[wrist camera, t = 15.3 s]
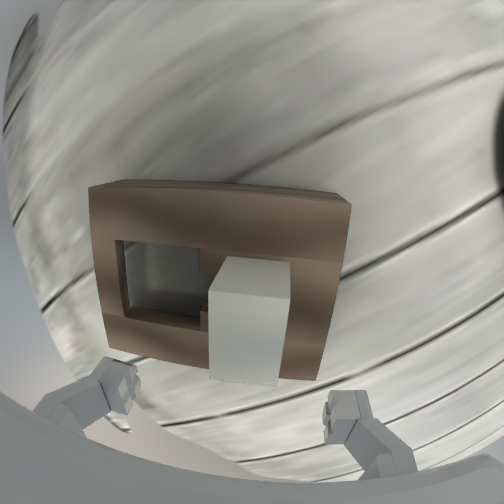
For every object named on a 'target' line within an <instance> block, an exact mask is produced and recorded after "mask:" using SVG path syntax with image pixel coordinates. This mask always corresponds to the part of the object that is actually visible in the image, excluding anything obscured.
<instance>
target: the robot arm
mask: <svg viewBox="0 0 504 504" xmlns="http://www.w3.org/2000/svg"><path fill="white" fill-rule="evenodd" d="M137 372H138V370H137V367H136V365H134V364H130V363H127V362H123V361H120V360H116V359H112V358H109V357H104V358H102V360H101V361H100V362H99V364H98V365H97V366H96V368H95V369H94V370H93V372H92V373H91V374H90V376H89V377H88V379H87V378H83V379H81V380H79V381H77V382H74V383H72V384H69V385H67V386H65V387H62V388H60V389H58V390H55V391H53V392H50V393H48V394H46V395H45V396H44V397H43V398H42V400H41V401H40V402H39V403H38V405H37V406H36V407H35V409H34V410H33V411H31V410H29V409H27V408H26V407H24V406H22V405H21V404H19V403H17V402H16V401H14V400H12V399H11V398H9V397H8V396H6V395H5V394H3V393H2V392H0V504H504V463H502V462H501V461H500V460H498V459H496V458H495V457H494V456H492V455H490V454H488V453H482V454H479V455H476V456H473V457H470V458H467V459H463V460H460V461H457V462H454V463H450V464H446V465H443V466H439V467H435V468H431V469H427V470H422V471H418V470H417V466H416V462H415V459H414V455H413V452H412V449H411V448H410V447H409V446H408V445H407V444H405V443H404V442H403V441H402V440H401V439H400V438H398V437H397V436H396V435H395V434H394V433H393V432H391V431H390V430H389V429H388V428H387V427H386V426H385V425H384V424H382V423H381V422H380V421H379V420H378V419H374V418H373V414H372V410H371V407H370V403H369V399H368V395H367V392H366V391H365V390H354V391H353V390H331V391H330V392H329V394H328V402H326V403H325V405H324V409H323V424H324V425H325V426H326V427H325V430H324V442H325V444H344V446H345V447H346V448H347V449H348V451H349V452H350V453H351V454H352V456H353V457H354V458H355V459H356V461H357V462H358V463H359V464H360V466H361V467H362V468H363V469H364V471H365V472H364V473H363V474H362V476H361V477H360V478H359V479H358V480H357V481H344V482H322V483H292V482H271V481H257V480H248V479H239V478H231V477H224V476H217V475H211V474H206V473H200V472H195V471H191V470H186V469H181V468H177V467H172V466H169V465H164V464H161V463H157V462H154V461H150V460H146V459H143V458H140V457H136V456H133V455H130V454H128V453H124V452H122V451H119V450H116V449H113V448H110V447H108V446H105V445H103V444H100V443H97V442H95V441H92V440H90V439H88V438H87V437H86V435H85V434H84V432H83V431H82V430H83V429H84V428H86V427H87V426H89V425H91V424H92V423H94V422H95V421H97V420H98V419H100V418H101V417H103V416H105V415H106V414H108V413H109V412H111V411H115V412H118V413H122V414H125V415H128V413H129V412H130V410H131V408H132V406H133V403H132V400H133V399H135V398H137V396H138V394H139V392H140V387H141V386H140V378H139V377H138V376H137V375H136V373H137Z"/></svg>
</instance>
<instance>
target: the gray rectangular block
mask: <svg viewBox="0 0 504 504" xmlns="http://www.w3.org/2000/svg"><path fill="white" fill-rule="evenodd" d="M289 306H290V262H282V261H272V260H262V259H252V258H242V257H232V256H227V257H226V259H225V261H224V263H223V265H222V266H221V268H220V270H219V272H218V274H217V275H216V277H215V279H214V281H213V283H212V284H211V286H210V288H209V290H208V327H209V378H210V379H216V380H222V381H229V382H236V383H244V384H252V385H261V386H270V387H277V382H278V377H279V371H280V365H281V359H282V352H283V346H284V340H285V333H286V327H287V320H288V313H289Z"/></svg>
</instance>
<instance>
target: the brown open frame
mask: <svg viewBox="0 0 504 504" xmlns="http://www.w3.org/2000/svg"><path fill="white" fill-rule="evenodd" d="M88 191H89V213H90V228H91V239H92V249H93V258H94V266H95V273H96V280H97V287H98V293H99V299H100V305H101V310H102V315H103V320H104V325H105V330H106V335H107V339H108V343H109V347H110V348H113V349H117V350H121V351H125V352H129V353H133V354H137V355H141V356H145V357H149V358H154V359H158V360H163V361H168V362H172V363H177V364H182V365H188V366H193V367H199V368H205V369H209V327H208V304H205V303H204V305H203V307H202V309H201V310H200V318H196V317H190V316H183V315H177V314H171V313H165V312H159V311H154V310H148V309H143V308H137V307H132V306H131V307H130V303H129V295H128V286H127V277H126V267H125V256H124V243H123V240H124V241H134V242H143V243H153V244H163V245H173V246H183V247H193V248H200V273H204V274H213V275H217V274H218V272H219V270H220V268H221V266H222V265H223V263H224V261H225V259H226V257H227V256H232V257H242V258H252V259H262V260H272V261H282V262H290V306H289V313H288V320H287V327H286V333H285V340H284V346H283V352H282V359H281V365H280V371H279V377H278V378H283V379H295V380H311V381H316V377H317V374H318V370H319V366H320V363H321V359H322V355H323V351H324V347H325V343H326V339H327V335H328V331H329V326H330V322H331V318H332V313H333V309H334V304H335V299H336V294H337V289H338V284H339V279H340V274H341V269H342V263H343V258H344V252H345V246H346V240H347V234H348V227H349V221H350V214H351V206H352V205H351V204H350V203H349V202H347V201H346V200H345V199H344V198H342V197H341V196H340V195H338V194H337V193H329V192H320V191H312V190H303V189H293V188H283V187H272V186H261V185H248V184H234V183H219V182H200V181H176V180H119V181H114V182H110V183H105V184H101V185H97V186H93V187H89V188H88Z"/></svg>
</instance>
